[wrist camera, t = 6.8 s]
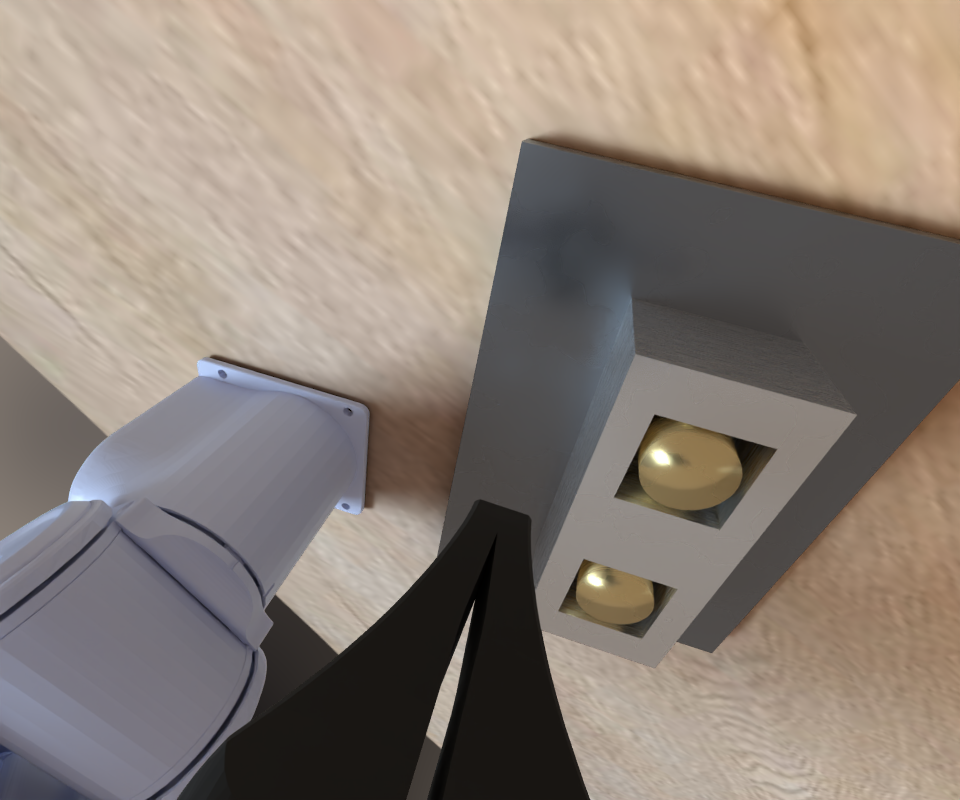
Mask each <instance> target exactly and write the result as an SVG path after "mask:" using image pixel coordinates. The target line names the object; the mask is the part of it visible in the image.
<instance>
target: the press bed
mask: <svg viewBox="0 0 960 800" xmlns="http://www.w3.org/2000/svg"><path fill="white" fill-rule="evenodd" d="M631 298H634V299H637V300H641V301H645V302H649V303H653V304H656V305H660V306H664V307H668V308H672V309H676V310H679V311H683V312H687V313H691V314H695V315H698V316H702V317H706V318H710V319H714V320H718V321H721V322H725V323H729V324H733V325H737V326H741V327H744V328H748V329H752V330H756V331H760V332H763V333H767V334H771V335H775V336H779V337H783V338H786V339H790V340H794V341H798V342H802V343H804V344H805V346H806V347H807V348H808V350H809V351H810V352H811V354H812V355H813V356H814V358H815V359H816V360H817V362H818V363H819V364H820V366H821V367H822V368H823V370H824V371H825V372H826V374H827V375H828V377H829V378H830V379H831V381H832V382H833V383H834V385H835V386H836V387H837V389H838V390H839V391H840V393H841V394H842V395H843V397H844V398H845V399H846V401H847V402H848V403H849V405H850V406H851V407H852V409H853V410H854V411H855V413H856V414H857V416H856V417H855V418H854V420H853V421H852V422H851V423H850V425H849V426H848V427H847V428H846V430H845V431H844V432H843V433H842V435H841V436H840V437H839V438H838V440H837V441H836V442H835V443H834V445H833V446H832V447H831V448H830V450H829V451H828V452H827V453H826V455H825V456H824V457H823V458H822V460H821V461H820V462H819V463H818V465H817V466H816V467H815V468H814V470H813V471H812V472H811V473H810V475H809V476H808V477H807V478H806V480H805V481H804V482H803V483H802V485H801V486H800V487H799V488H798V490H797V491H796V492H795V493H794V495H793V496H792V497H791V499H790V500H789V501H788V502H787V504H786V505H785V506H784V507H783V509H782V510H781V511H780V512H779V514H778V515H777V516H776V517H775V519H774V520H773V521H772V522H771V524H770V525H769V526H768V527H767V529H766V530H765V531H764V532H763V534H762V535H761V536H760V537H759V539H758V540H757V541H756V542H755V544H754V545H753V546H752V547H751V549H750V550H749V551H748V552H747V554H746V555H745V556H744V557H743V559H742V560H741V561H740V562H739V564H738V565H737V566H736V567H735V569H734V570H733V571H732V572H731V574H730V575H729V576H728V577H727V579H726V580H725V581H724V582H723V584H722V585H721V586H720V587H719V589H718V590H717V591H716V592H715V594H714V595H713V596H712V597H711V599H710V600H709V601H708V603H707V604H706V605H705V606H704V608H703V609H702V610H701V611H700V613H699V614H698V615H697V616H696V618H695V619H694V620H693V621H692V623H691V624H690V625H689V626H688V628H687V629H686V630H685V631H684V633H683V634H682V635H681V636H680V638H679V639H678V640H677V641H676V642H679V643H682V644H685V645H688V646H691V647H694V648H697V649H700V650H703V651H706V652H710V653H712V652H713V651H714V650H715V649H716V648H717V647H718V646H719V645H720V644H721V643H722V641H723V640H724V639H725V638H726V637H727V636H728V635H729V634H730V633H731V631H732V630H733V629H734V628H735V627H736V626H737V625H738V624H739V623H740V622H741V620H742V619H743V618H744V617H745V616H746V615H747V614H748V613H749V612H750V610H751V609H752V608H753V607H754V606H755V605H756V604H757V603H758V602H759V601H760V599H761V598H762V597H763V596H764V595H765V594H766V593H767V592H768V591H769V589H770V588H771V587H772V586H773V585H774V584H775V583H776V582H777V581H778V580H779V578H780V577H781V576H782V575H783V574H784V573H785V572H786V571H787V570H788V568H789V567H790V566H791V565H792V564H793V563H794V562H795V561H796V560H797V559H798V557H799V556H800V555H801V554H802V553H803V552H804V551H805V550H806V549H807V547H808V546H809V545H810V544H811V543H812V542H813V541H814V540H815V539H816V538H817V536H818V535H819V534H820V533H821V532H822V531H823V530H824V529H825V528H826V526H827V525H828V524H829V523H830V522H831V521H832V520H833V519H834V518H835V517H836V515H837V514H838V513H839V512H840V511H841V510H842V509H843V508H844V507H845V505H846V504H847V503H848V502H849V501H850V500H851V499H852V498H853V497H854V496H855V494H856V493H857V492H858V491H859V490H860V489H861V488H862V487H863V486H864V484H865V483H866V482H867V481H868V480H869V479H870V478H871V477H872V476H873V475H874V473H875V472H876V471H877V470H878V469H879V468H880V467H881V466H882V465H883V463H884V462H885V461H886V460H887V459H888V458H889V457H890V456H891V455H892V454H893V452H894V451H895V450H896V449H897V448H898V447H899V446H900V445H901V444H902V442H903V441H904V440H905V439H906V438H907V437H908V436H909V435H910V434H911V433H912V431H913V430H914V429H915V428H916V427H917V426H918V425H919V424H920V423H921V421H922V420H923V419H924V418H925V417H926V416H927V415H928V414H929V413H930V412H931V410H932V409H933V408H934V407H935V406H936V405H937V404H938V403H939V402H940V400H941V399H942V398H943V397H944V396H945V395H946V394H947V393H948V392H949V391H950V389H951V388H952V387H953V386H954V385H955V384H956V383H957V382H958V381H959V379H960V240H959V239H955V238H951V237H946V236H942V235H938V234H933V233H929V232H925V231H921V230H916V229H912V228H908V227H904V226H899V225H895V224H891V223H886V222H882V221H878V220H874V219H869V218H865V217H861V216H856V215H852V214H848V213H844V212H839V211H835V210H831V209H827V208H822V207H818V206H814V205H809V204H805V203H801V202H797V201H792V200H788V199H784V198H779V197H775V196H771V195H767V194H762V193H758V192H754V191H749V190H745V189H741V188H737V187H732V186H728V185H724V184H720V183H715V182H711V181H707V180H702V179H698V178H694V177H690V176H685V175H681V174H677V173H672V172H668V171H664V170H660V169H655V168H651V167H647V166H643V165H638V164H634V163H630V162H625V161H621V160H617V159H613V158H608V157H604V156H600V155H595V154H591V153H587V152H583V151H578V150H574V149H570V148H566V147H561V146H557V145H553V144H548V143H544V142H540V141H536V140H531V139H526V140H524V141H522V144H521V149H520V154H519V158H518V163H517V168H516V173H515V178H514V183H513V188H512V193H511V198H510V203H509V207H508V212H507V217H506V222H505V227H504V232H503V237H502V242H501V247H500V252H499V256H498V261H497V266H496V271H495V276H494V281H493V286H492V291H491V296H490V301H489V305H488V310H487V315H486V320H485V325H484V330H483V335H482V340H481V345H480V349H479V354H478V359H477V364H476V369H475V374H474V379H473V384H472V389H471V394H470V398H469V403H468V408H467V413H466V418H465V423H464V428H463V433H462V438H461V443H460V447H459V452H458V457H457V462H456V467H455V472H454V477H453V482H452V487H451V492H450V496H449V501H448V506H447V511H446V516H445V521H444V526H443V531H442V536H441V541H440V545H439V550H438V555H439V554H440V553H441V552H442V550H443V549H444V548H445V547H446V545H447V544H448V543H449V542H450V540H451V539H452V538H453V536H454V535H455V533H456V532H457V531H458V529H459V528H460V526H461V525H462V523H463V522H464V520H465V519H466V517H467V515H468V513H469V512H470V510H471V508H472V506H473V504H474V502H475V501H476V500H479V499H481V500H484V501H487V502H490V503H493V504H496V505H499V506H502V507H505V508H508V509H511V510H515V511H518V512H521V513H524V514H527V515H529V516H530V518H531V520H532V523H531V555H532V564H533V559H534V553H535V548H536V544H537V541H538V539H539V536H540V534H541V531H542V528H543V526H544V523H545V521H546V518H547V515H548V513H549V510H550V508H551V505H552V502H553V500H554V497H555V495H556V492H557V490H558V487H559V484H560V482H561V479H562V477H563V474H564V471H565V469H566V466H567V464H568V461H569V459H570V456H571V453H572V451H573V448H574V446H575V443H576V440H577V438H578V435H579V433H580V430H581V427H582V425H583V422H584V420H585V417H586V415H587V412H588V409H589V407H590V404H591V402H592V399H593V396H594V394H595V391H596V389H597V386H598V384H599V381H600V378H601V376H602V373H603V371H604V368H605V365H606V363H607V360H608V358H609V355H610V352H611V350H612V347H613V345H614V342H615V340H616V337H617V334H618V332H619V329H620V327H621V324H622V321H623V319H624V316H625V314H626V311H627V309H628V306H629V303H630V301H631ZM438 555H437V557H438Z"/></svg>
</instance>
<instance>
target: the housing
mask: <svg viewBox="0 0 960 800" xmlns="http://www.w3.org/2000/svg"><path fill="white" fill-rule="evenodd" d="M654 414H655V415H659V416H662V417H666V418H669V419H673V420H676V421H680V422H683V423H687V424H690V425H694V426H697V427H701V428H704V429H708V430H711V431H715V432H719V433H722V434H726V435H729V436H732V439H733V442H734V445H735V448H736V451H737V454H738V457H739V460H740V463H741V466H742V480H741V483H740V485H739V487H738V489H737V490H736V491H735V492H734V494H733V495H732V496H730V497H729V498H728V499H727V500H725V501H723V502H722V503H720V504H718V505H715V506H713V507H709V508H705V509H700V510H680V509H674V508H671V507H668V506H665V505H662V504H660V503H658V502H657V501H655V500H654V499H652V498H651V497H650V496H649V495H648V494H647V493H646V492H645V490H644V489H643V487H642V485H641V483H640V479H639V467H638V447H639V445H640V443H641V441H642V439H643V437H644V435H645V433H646V431H647V429H648V427H649V424H650V422H651V420H652V418H653V416H654ZM856 416H857V414H856V413H855V411H854V410H853V409H852V407H851V406H850V405H849V403H848V402H847V401H846V399H845V398H844V397H843V395H842V394H841V393H840V391H839V390H838V389H837V387H836V386H835V385H834V383H833V382H832V381H831V379H830V378H829V377H828V375H827V374H826V372H825V371H824V370H823V368H822V367H821V366H820V364H819V363H818V362H817V360H816V359H815V358H814V356H813V355H812V354H811V352H810V351H809V350H808V348H807V347H806V346H805V344H804V343H802V342H798V341H794V340H790V339H786V338H783V337H779V336H775V335H771V334H767V333H763V332H760V331H756V330H752V329H748V328H744V327H741V326H737V325H733V324H729V323H725V322H721V321H718V320H714V319H710V318H706V317H702V316H698V315H695V314H691V313H687V312H683V311H679V310H676V309H672V308H668V307H664V306H660V305H656V304H653V303H649V302H645V301H641V300H637V299H634V298H631V301H630V303H629V306H628V309H627V311H626V314H625V316H624V319H623V321H622V324H621V327H620V329H619V332H618V334H617V337H616V340H615V342H614V345H613V347H612V350H611V352H610V355H609V358H608V360H607V363H606V365H605V368H604V371H603V373H602V376H601V378H600V381H599V384H598V386H597V389H596V391H595V394H594V396H593V399H592V402H591V404H590V407H589V409H588V412H587V415H586V417H585V420H584V422H583V425H582V427H581V430H580V433H579V435H578V438H577V440H576V443H575V446H574V448H573V451H572V453H571V456H570V459H569V461H568V464H567V466H566V469H565V471H564V474H563V477H562V479H561V482H560V484H559V487H558V490H557V492H556V495H555V497H554V500H553V502H552V505H551V508H550V510H549V513H548V515H547V518H546V521H545V523H544V526H543V528H542V531H541V534H540V536H539V539H538V541H537V544H536V548H535V553H534V559H533V564H532V568H533V578H534V586H535V594H536V601H537V608H538V614H539V620H540V626H541V630H542V631H545V632H548V633H551V634H554V635H557V636H560V637H563V638H566V639H569V640H572V641H575V642H578V643H581V644H584V645H587V646H590V647H593V648H596V649H599V650H602V651H605V652H608V653H611V654H614V655H617V656H620V657H622V658H625V659H628V660H631V661H634V662H637V663H640V664H643V665H646V666H649V667H652V668H656V666H657V665H658V664H659V663H660V661H661V660H662V659H663V658H664V656H665V655H666V654H667V653H668V651H669V650H670V649H671V648H672V646H673V645H674V644H675V643H676V641H677V640H678V639H679V638H680V636H681V635H682V634H683V633H684V631H685V630H686V629H687V628H688V626H689V625H690V624H691V623H692V621H693V620H694V619H695V618H696V616H697V615H698V614H699V613H700V611H701V610H702V609H703V608H704V606H705V605H706V604H707V603H708V601H709V600H710V599H711V597H712V596H713V595H714V594H715V592H716V591H717V590H718V589H719V587H720V586H721V585H722V584H723V582H724V581H725V580H726V579H727V577H728V576H729V575H730V574H731V572H732V571H733V570H734V569H735V567H736V566H737V565H738V564H739V562H740V561H741V560H742V559H743V557H744V556H745V555H746V554H747V552H748V551H749V550H750V549H751V547H752V546H753V545H754V544H755V542H756V541H757V540H758V539H759V537H760V536H761V535H762V534H763V532H764V531H765V530H766V529H767V527H768V526H769V525H770V524H771V522H772V521H773V520H774V519H775V517H776V516H777V515H778V514H779V512H780V511H781V510H782V509H783V507H784V506H785V505H786V504H787V502H788V501H789V500H790V499H791V497H792V496H793V495H794V493H795V492H796V491H797V490H798V488H799V487H800V486H801V485H802V483H803V482H804V481H805V480H806V478H807V477H808V476H809V475H810V473H811V472H812V471H813V470H814V468H815V467H816V466H817V465H818V463H819V462H820V461H821V460H822V458H823V457H824V456H825V455H826V453H827V452H828V451H829V450H830V448H831V447H832V446H833V445H834V443H835V442H836V441H837V440H838V438H839V437H840V436H841V435H842V433H843V432H844V431H845V430H846V428H847V427H848V426H849V425H850V423H851V422H852V421H853V420H854V418H855V417H856ZM583 559H585V560H588V561H592V562H595V563H598V564H601V565H604V566H607V567H610V568H614V569H617V570H620V571H623V572H626V573H629V574H632V575H635V576H639V577H642V578H645V579H648V580H651V581H653V594H654V608H653V611H652V613H651V614H650V615H649V616H648V617H647V618H645V619H643V620H641V621H639V622H636V623H631V624H613V623H608V622H604V621H601V620H598V619H596V618H594V617H592V616H590V615H589V614H587V613H586V612H585V611H584V610H583V609H582V608H581V607H580V606H579V604H578V602H577V599H576V587H577V575H578V569H579V567H580V565H581V563H582V561H583Z"/></svg>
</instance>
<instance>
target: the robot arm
mask: <svg viewBox="0 0 960 800" xmlns="http://www.w3.org/2000/svg"><path fill="white" fill-rule="evenodd" d="M197 367H198V373H199V376H198V377H196V378H195V379H193V380H192V381H190V382H189V383H187V384H186V385H184V386H183V387H181V388H180V389H178V390H177V391H175V392H174V393H172V394H171V395H169V396H168V397H166V398H165V399H163V400H162V401H160V402H159V403H157V404H156V405H154V406H153V407H151V408H150V409H148V410H147V411H145V412H144V413H143V414H141V415H140V416H138V417H137V418H135V419H134V420H132V421H131V422H129V423H128V424H126V425H125V426H123V427H122V428H120V429H119V430H117V431H116V432H114V433H113V434H111V435H110V436H109V437H107V438H106V439H105V440H104V441H103V442H102V443H100V444H99V446H97V447H96V448H95V449H94V450H93V452H92V453H91V454H90V455H89V456H88V458H87V459H86V460H85V462H84V463H83V465H82V466H81V468H80V469H79V471H78V473H77V474H76V477H75V478H74V481H73V483H72V486H71V489H70V493H69V499H68V502H67V503H64V504H62V505H60V506H58V507H56V508H54V509H52V510H50V511H48V512H47V513H45V514H43V515H41V516H39V517H38V518H36V519H34V520H33V521H31V522H30V523H28V524H26V525H25V526H23V527H21V528H20V529H18V530H17V531H15V532H14V533H12V534H11V535H9V536H7V537H6V538H5V539H3V540H1V541H0V800H406V798H407V795H408V792H409V788H410V785H411V781H412V778H413V775H414V771H415V769H416V765H417V762H418V759H419V755H420V752H421V748H422V745H423V742H424V739H425V736H426V732H427V729H428V726H429V723H430V719H431V716H432V713H433V709H434V706H435V703H436V700H437V696H438V693H439V690H440V686H441V684H442V681H443V679H444V676H445V674H446V671H447V669H448V666H449V664H450V661H451V659H452V656H453V654H454V651H455V649H456V646H457V644H458V641H459V639H460V636H461V633H462V631H463V628H464V626H465V623H466V621H467V618H468V616H469V613H470V611H471V608H472V606H473V603H474V601H475V603H474V608H473V613H472V618H471V623H470V628H469V633H468V638H467V643H466V648H465V653H464V658H463V663H462V668H461V673H460V678H459V683H458V688H457V693H456V697H455V701H454V705H453V710H452V714H451V717H450V721H449V724H448V728H447V732H446V735H445V739H444V742H443V746H442V749H441V753H440V756H439V760H438V763H437V767H436V770H435V774H434V777H433V781H432V784H431V788H430V791H429V795H428V798H427V800H590V798H589V795H588V793H587V790H586V787H585V784H584V781H583V778H582V775H581V772H580V769H579V766H578V763H577V760H576V757H575V754H574V751H573V748H572V745H571V742H570V739H569V736H568V733H567V730H566V727H565V724H564V720H563V717H562V713H561V710H560V706H559V703H558V699H557V696H556V692H555V688H554V684H553V680H552V677H551V673H550V669H549V664H548V660H547V655H546V651H545V646H544V641H543V636H542V631H541V626H540V620H539V614H538V608H537V601H536V594H535V586H534V578H533V568H532V555H531V523H532V520H531V518H530V516H529V515H527V514H524V513H521V512H518V511H515V510H511V509H508V508H505V507H502V506H499V505H496V504H493V503H490V502H487V501H484V500H481V499H479V500H476V501H475V502H474V504H473V506H472V508H471V510H470V512H469V513H468V515H467V517H466V519H465V520H464V522H463V523H462V525H461V526H460V528H459V529H458V531H457V532H456V533H455V535H454V536H453V538H452V539H451V540H450V542H449V543H448V544H447V545H446V547H445V548H444V549H443V550H442V552H441V553H440V554H439V555H438V557H437V558H436V559H435V561H434V562H433V563H432V564H431V565H430V567H429V568H428V569H427V570H426V571H425V572H424V573H423V574H422V575H421V577H420V578H419V579H418V580H417V581H416V582H415V583H414V584H413V585H412V586H411V588H410V589H409V590H408V591H407V592H406V593H405V594H404V595H403V596H402V597H401V598H400V599H399V600H398V601H397V602H396V603H395V604H394V605H393V606H392V607H391V608H390V609H389V610H388V611H387V612H386V613H385V614H384V615H383V616H382V617H381V618H380V619H379V620H378V621H377V622H376V623H375V624H373V625H372V626H371V627H370V628H369V629H368V630H367V631H366V632H365V633H363V634H362V635H361V636H360V637H359V638H358V639H357V640H355V641H354V642H353V643H352V644H351V645H350V646H349V647H348V648H346V649H345V650H344V651H343V652H342V653H340V654H339V655H338V656H337V657H336V658H334V659H333V660H332V661H331V662H330V663H328V664H327V665H326V666H324V667H323V668H322V669H321V670H319V671H318V672H317V673H315V674H314V675H313V676H312V677H310V678H309V679H308V680H306V681H305V682H304V683H303V684H301V685H300V686H299V687H297V688H296V689H295V690H294V691H292V692H291V693H290V694H288V695H287V696H285V697H284V698H283V699H282V700H280V701H279V702H277V703H276V704H275V705H273V706H271V707H270V708H269V709H267V710H266V711H264V712H263V713H261V714H260V715H258V716H257V717H256V718H254V719H253V720H251V718H252V716H253V714H254V711H255V709H256V707H257V704H258V701H259V697H260V695H261V692H262V688H263V685H264V682H265V677H266V670H267V665H266V657H265V655H264V652H263V650H262V649H260V647H259V645H260V644H261V642H262V641H263V639H264V638H265V636H266V635H267V633H268V631H269V630H270V628H271V627H272V625H273V622H272V620H271V619H270V618H269V617H268V616H267V614H266V613H265V611H264V610H265V608H266V607H267V605H268V604H269V602H270V601H271V599H272V598H273V596H274V595H275V594H276V592H277V591H278V589H279V588H280V586H281V585H282V583H283V582H284V580H285V579H286V578H287V576H288V575H289V573H290V572H291V570H292V569H293V567H294V566H295V564H296V563H297V562H298V560H299V559H300V557H301V556H302V554H303V553H304V551H305V550H306V548H307V547H308V545H309V544H310V543H311V541H312V540H313V538H314V537H315V535H316V534H317V532H318V531H319V529H320V528H321V527H322V525H323V524H324V522H325V521H326V519H327V518H328V516H329V515H330V513H331V512H332V511H333V509H334V508H336V509H339V510H342V511H346V512H349V513H352V514H356V515H357V514H360V513H361V512H362V511H363V509H364V502H365V485H366V467H367V450H368V432H369V415H370V414H369V410H368V408H367V407H366V406H365V405H363V404H361V403H358V402H355V401H351V400H348V399H345V398H341V397H338V396H335V395H331V394H328V393H325V392H321V391H318V390H315V389H311V388H308V387H305V386H302V385H298V384H295V383H292V382H288V381H285V380H282V379H278V378H275V377H272V376H268V375H265V374H262V373H258V372H255V371H252V370H248V369H245V368H242V367H238V366H235V365H232V364H228V363H225V362H222V361H218V360H215V359H212V358H208V357H204V358H202V359H201V360H199V361H198V362H197ZM224 371H225V372H226V373H225V372H224ZM347 408H349V409H351V410H352V412H350V411H349V410H348V409H347ZM250 720H251V721H250Z"/></svg>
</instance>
